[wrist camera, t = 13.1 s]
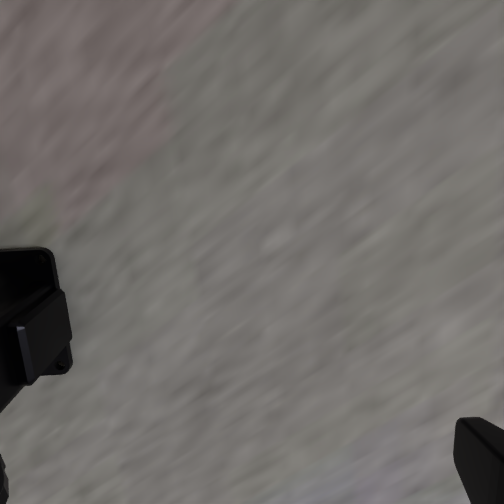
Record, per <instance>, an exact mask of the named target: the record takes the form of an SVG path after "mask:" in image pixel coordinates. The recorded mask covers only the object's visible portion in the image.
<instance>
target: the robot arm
mask: <svg viewBox="0 0 504 504" xmlns="http://www.w3.org/2000/svg"><path fill="white" fill-rule="evenodd" d="M39 255H42V256H44V257H45V260H46V261H45V263H42V262H41V261H40V260H39ZM71 339H72V332H71V326H70V321H69V315H68V309H67V303H66V298H65V293H64V292H63V291H62V290H61V289H60V286H59V280H58V275H57V269H56V263H55V258H54V255H53V253H52V252H51V251H50V250H49V249H47V248H25V249H6V250H0V413H1V412H2V411H3V410H4V408H5V407H6V406H7V405H8V404H9V403H10V402H11V401H12V399H13V398H14V397H15V396H16V395H17V394H18V393H19V392H20V391H21V389H22V388H23V387H24V386H30V385H32V384H33V383H34V382H35V381H36V380H37V379H38V378H39V376H44V375H62V374H65V373H67V372H68V371H69V369H70V368H71V367H72V365H73V360H72V354H71V348H70V343H69V342H70V341H71ZM58 361H62V362H63V363H64V365H65V366H61V365H59V363H58ZM453 457H454V463H455V466H456V469H457V471H458V474H459V476H460V478H461V481H462V483H463V486H464V488H465V490H466V493H467V495H468V498H469V500H470V502H471V504H504V430H503V429H501V428H499V427H497V426H495V425H494V424H492V423H490V422H488V421H486V420H484V419H483V418H480V417H465V418H459V419H458V420H457V422H456V426H455V438H454V450H453ZM4 470H5V463H4V461H3V459H2V457H1V454H0V504H6V502H7V499H8V497H9V488H8V478H7V475H6V473H5V471H4Z"/></svg>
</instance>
